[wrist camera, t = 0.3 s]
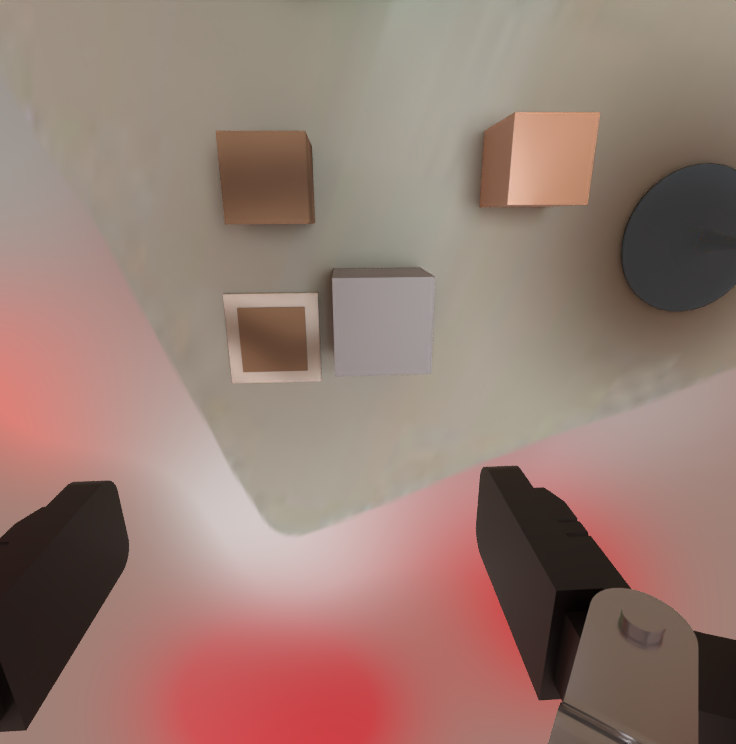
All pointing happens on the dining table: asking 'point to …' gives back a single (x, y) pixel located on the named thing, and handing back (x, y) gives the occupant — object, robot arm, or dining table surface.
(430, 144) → the dining table surface
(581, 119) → the terracotta block
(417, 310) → the grey block
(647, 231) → the cocktail glass
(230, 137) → the walnut block
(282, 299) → the tile
